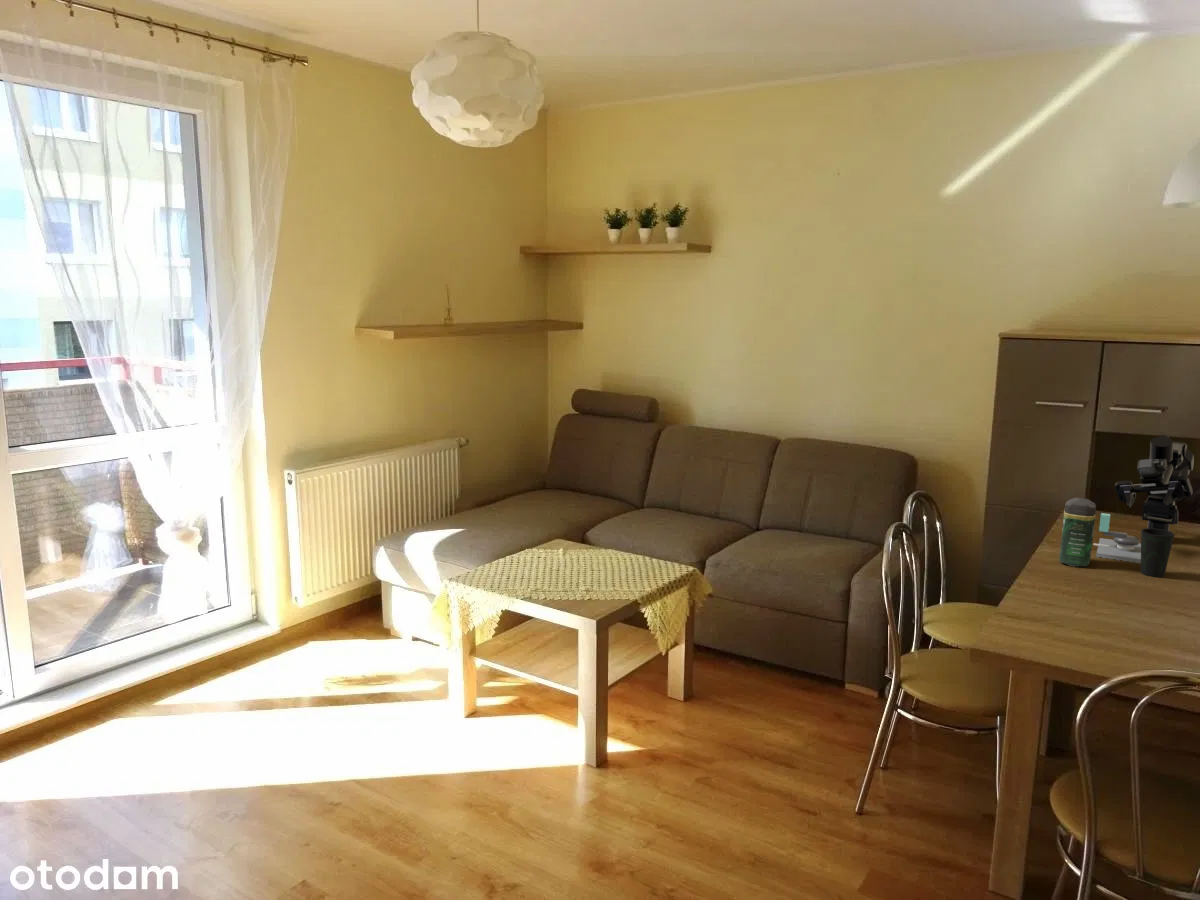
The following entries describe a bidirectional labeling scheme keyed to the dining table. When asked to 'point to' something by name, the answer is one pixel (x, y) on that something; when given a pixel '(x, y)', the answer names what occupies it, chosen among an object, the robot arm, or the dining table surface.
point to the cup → (1155, 551)
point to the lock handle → (1118, 536)
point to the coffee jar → (1077, 532)
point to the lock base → (1118, 551)
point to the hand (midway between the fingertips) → (1146, 505)
